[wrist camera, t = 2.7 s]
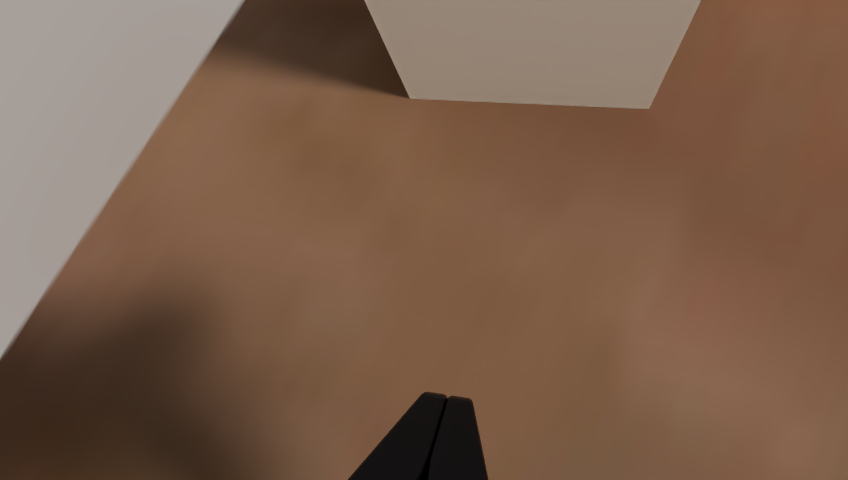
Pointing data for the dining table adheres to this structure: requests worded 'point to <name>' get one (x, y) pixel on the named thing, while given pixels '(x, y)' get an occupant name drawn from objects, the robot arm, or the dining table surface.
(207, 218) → the dining table surface
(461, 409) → the robot arm
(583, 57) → the tile
